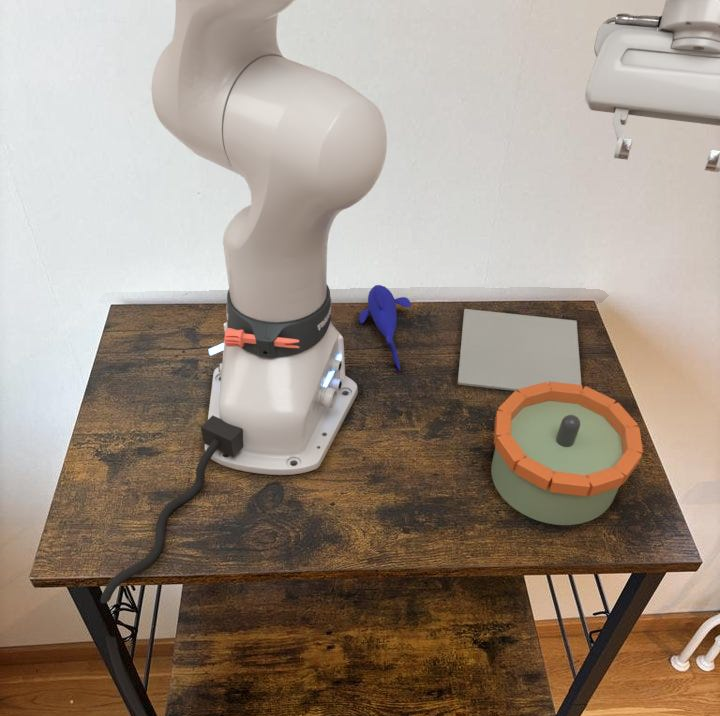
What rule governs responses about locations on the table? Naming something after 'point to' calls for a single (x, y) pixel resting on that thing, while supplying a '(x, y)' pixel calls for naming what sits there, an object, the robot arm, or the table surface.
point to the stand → (559, 460)
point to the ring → (562, 480)
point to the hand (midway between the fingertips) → (665, 164)
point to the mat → (517, 350)
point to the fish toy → (384, 314)
